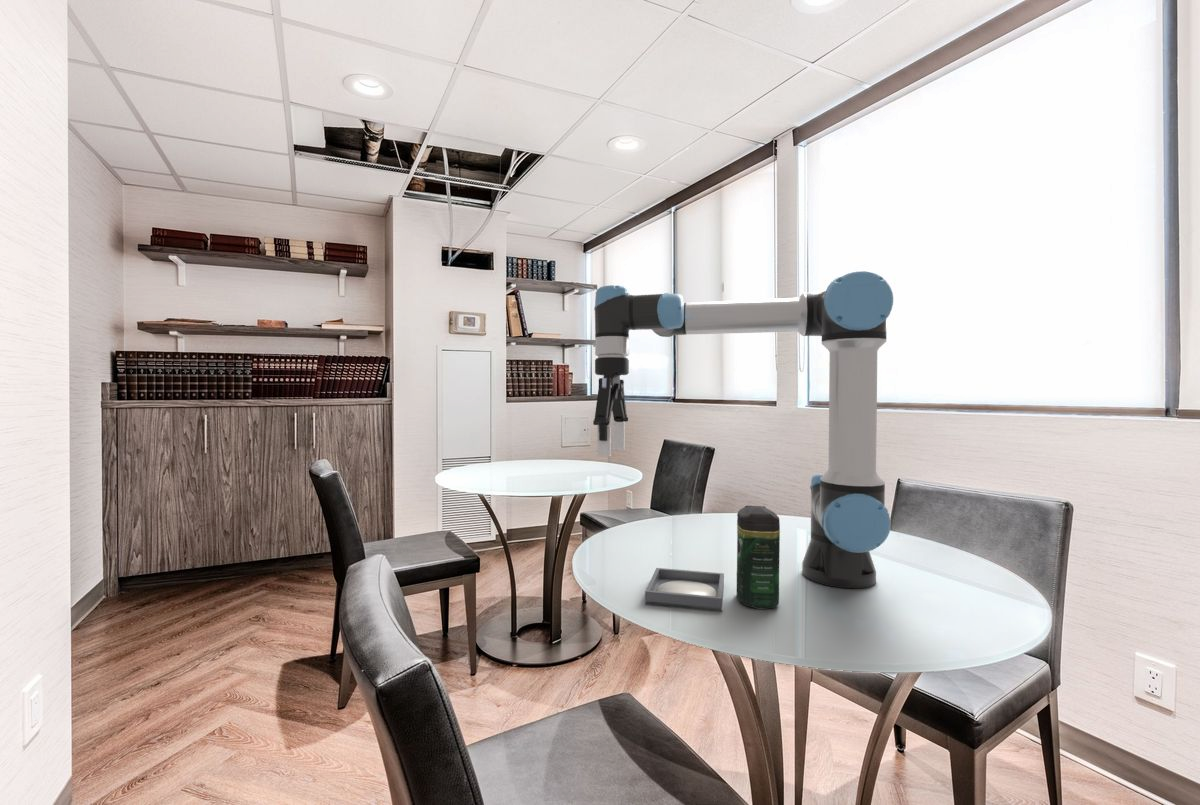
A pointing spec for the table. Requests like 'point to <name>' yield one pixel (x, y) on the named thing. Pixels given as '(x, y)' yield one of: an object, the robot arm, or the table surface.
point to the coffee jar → (758, 557)
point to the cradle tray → (686, 589)
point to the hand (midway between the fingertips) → (611, 452)
